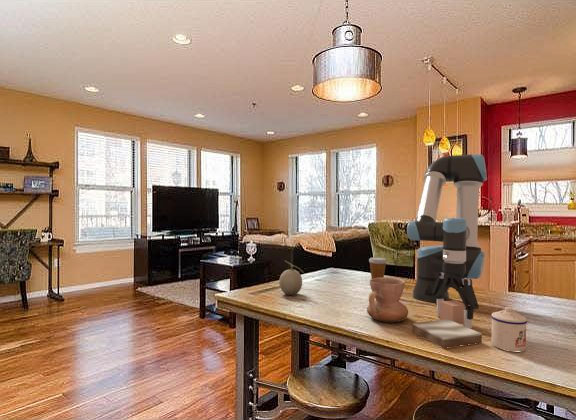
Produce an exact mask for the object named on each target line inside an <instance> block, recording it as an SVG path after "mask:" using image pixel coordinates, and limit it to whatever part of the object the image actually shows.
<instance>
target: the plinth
mask: <svg viewBox="0 0 576 420" xmlns="http://www.w3.org/2000/svg"><path fill="white" fill-rule="evenodd" d="M413 332H414V334H415V333H416V335H417V334H418V335H417V336H419V335H420V336H419V337H421V336H422V337H421V338H423V337H424V338H426V339H428V340H430V341H431V342H430V341H429V342H430V343H432V342H433V343H432V344H434V343H435V344H437V345H439V346H441V347H442V348H441V347H440V348H441V349H443V348H447V347H454V346H460V345H468V344H474V345H476V344H475V343H481V342H482V341H483V338H482V337H483V336H482V335H483V334H482V332H480V331H476V330H475V329H472V328H468V327H465V326H464V325H460V324H458V323H456V322H453V321H451V320H449V319H444V320H440V319H438V320H428V321H420V322H413V323H412V333H413ZM424 338H423V339H424ZM426 339H425V340H426ZM428 340H427V341H428ZM435 344H434V345H435ZM481 344H482V343H481ZM437 345H436V346H437ZM439 346H438V347H439ZM468 346H469V345H468ZM454 348H455V347H454ZM447 349H448V348H447Z"/></svg>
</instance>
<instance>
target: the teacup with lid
mask: <svg viewBox="0 0 576 420" xmlns="http://www.w3.org/2000/svg"><path fill="white" fill-rule="evenodd" d="M490 318H491V345H492V344H493V345H494V346H496V347H498V348H501V349H505V350H509V351H524V350H525V349H526V348H527V323H528V320H527V318H526V316H524V315H521V314H519V313H518V312H517V311H514V309H513V308H512V307H510V306H506V307H504V309H502V310H499V311H494V312H492V313H491V315H490ZM493 345H492V346H493ZM494 346H493V347H494ZM496 347H495V348H496ZM498 348H497V349H498ZM525 351H526V350H525ZM525 351H524V352H525Z"/></svg>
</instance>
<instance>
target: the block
mask: <svg viewBox="0 0 576 420" xmlns="http://www.w3.org/2000/svg"><path fill="white" fill-rule="evenodd" d="M465 308H466V307H465V305H464V303H463V302H460V301H457V300H453V299H452V300H448V301H441V308H440V317H439V320H444V319H449V320H451V321H453V322H456V323H458V324H464V309H465Z"/></svg>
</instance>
